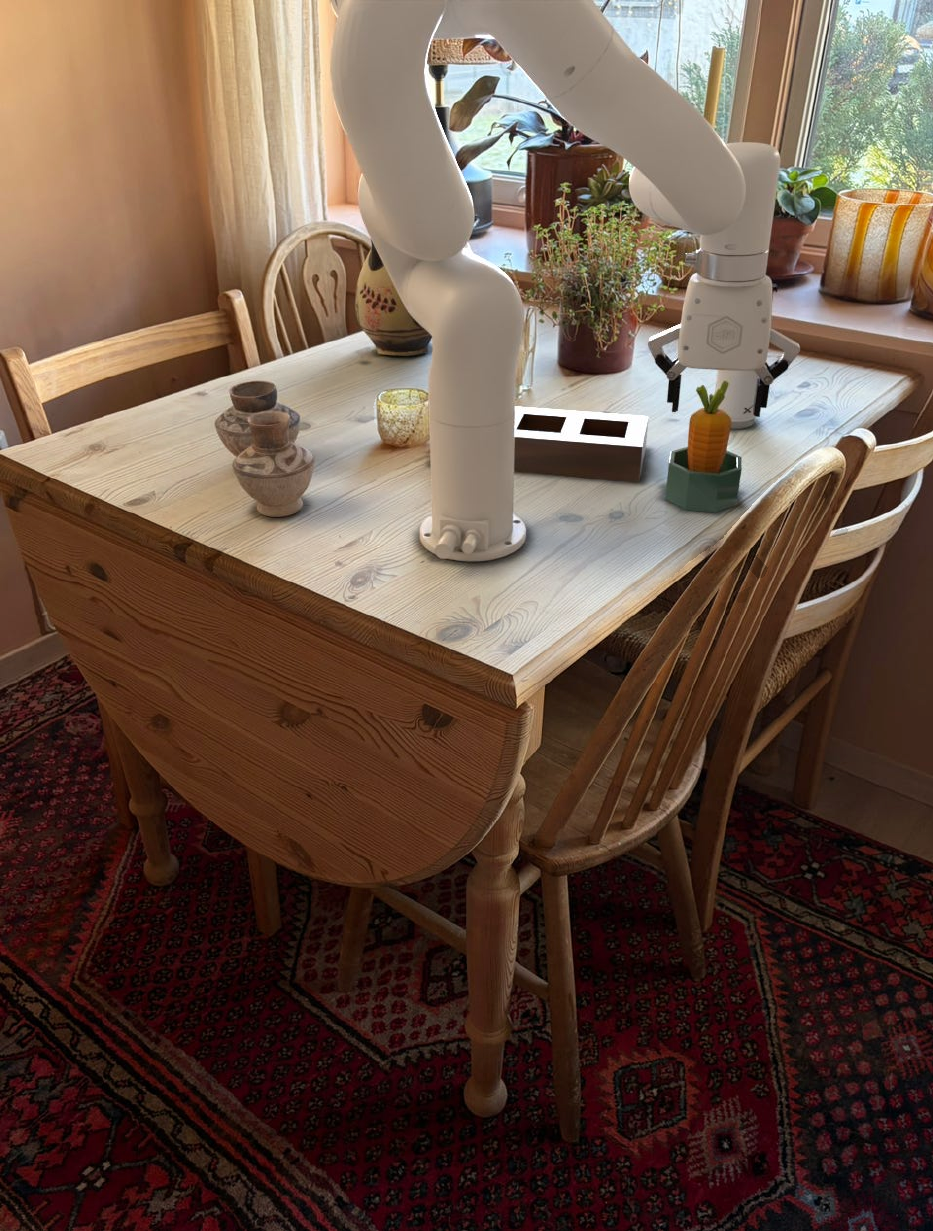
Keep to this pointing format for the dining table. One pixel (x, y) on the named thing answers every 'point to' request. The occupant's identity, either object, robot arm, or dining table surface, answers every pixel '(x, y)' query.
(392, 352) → the ceramic jug
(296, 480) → the pottery
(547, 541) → the dining table surface
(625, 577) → the dining table surface
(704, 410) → the carrot
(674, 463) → the holder
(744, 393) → the travel mug
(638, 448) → the rack
